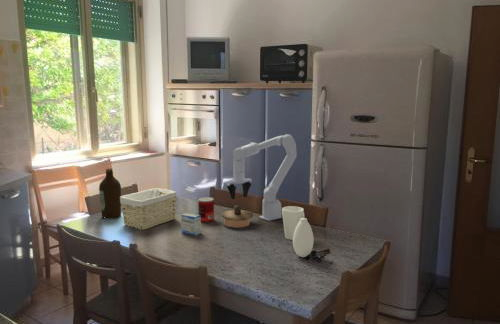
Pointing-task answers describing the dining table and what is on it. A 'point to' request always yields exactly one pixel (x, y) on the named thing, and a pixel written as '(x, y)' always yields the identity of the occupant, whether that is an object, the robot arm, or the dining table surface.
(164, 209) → the storage basket
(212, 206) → the canned food
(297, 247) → the sauce bottle
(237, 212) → the lid
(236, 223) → the bowl
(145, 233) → the dining table surface
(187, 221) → the medicine box
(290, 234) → the foam cup
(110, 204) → the olive oil
